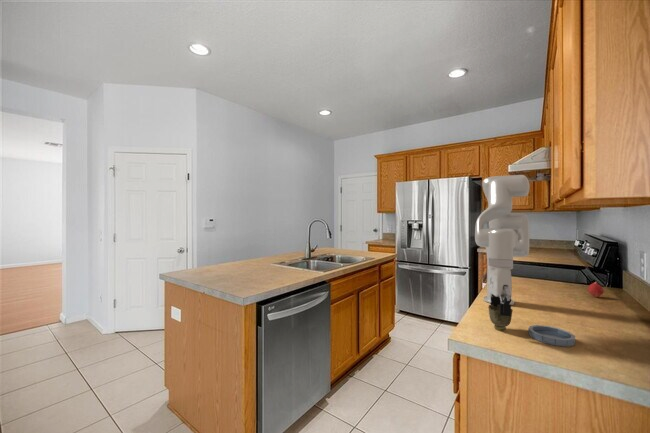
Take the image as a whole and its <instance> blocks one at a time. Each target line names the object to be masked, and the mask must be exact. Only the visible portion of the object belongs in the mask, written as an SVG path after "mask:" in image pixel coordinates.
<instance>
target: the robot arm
mask: <svg viewBox="0 0 650 433" xmlns="http://www.w3.org/2000/svg"><path fill="white" fill-rule="evenodd" d="M529 181H530V180H529V179H528V177H527V176H526V175H524V174H514V175H513V174H512V175H509V174H508V175H497V176H495V175H494V176H489V177H486V178H484V179H483V180H482V184H481V185H482V190H483V192H484V195H485V198H486V199H487V200H486V201H487V206H488V207H487V208H485V210H483V211H482V212H481V213H480V214H479V216H478V217H477V219H476V222H475V225H474V227H475V228H474V241H475V243H476V246H478V247H480V248H485V251H486V259H487V260H486V262H487V263H486V265H487V266H486V268H487V271H486V273H487V274H486V284H487V285H486V295H485V296H483V301H484V302H486V303H488V304H490V305H491V306H492V304H493V305H494V307H495V306H496V307H497V305H500V315H501V316H511V309H512V306H514V305H515V301H514V300H513V299H512V293H513V290H512V289H513V287H512V286H513V282H512V273H511V272H512V271H511V270H513V269H514V258H525V257H528V255H529V253H530V221H529V217H528V216H527V214H525V213H521V212H518V213H517V212H513V198H519V197H520V198H521V197H527V196H528V195H529V193H530V188H531V186H530V182H529ZM487 223H488V227H484V226H485V225H486V224H487Z"/></svg>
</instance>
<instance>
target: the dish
mask: <svg viewBox="0 0 650 433" xmlns="http://www.w3.org/2000/svg"><path fill="white" fill-rule="evenodd" d="M528 335H529V337H530V338H532V339H534V340H536V341H538V342H541V343H544V344H546V345H552V346H556V347H566V348H567V347H574V346H575V345H576V335H574V334H573V333H571V332H570V331H567V330H564V329H561V328H558V327H554V326H549V325H542V324H541V325H540V324H535V325H534V324H533V325H529V327H528Z"/></svg>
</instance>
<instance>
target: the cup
mask: <svg viewBox="0 0 650 433" xmlns="http://www.w3.org/2000/svg"><path fill="white" fill-rule="evenodd" d="M487 307H488V314H489V319H490V322H491V323H492V324H493V327H494V328H495V330H497V331H500V332H501V331H502V332H505V331H506V330H507V327H508V326H509V325H510V324H511V322H512V316H513V308H511V316H501V315H500V305H497V307H496V306H495V307H494V305H493V304H492V306H491V304H488V306H487Z"/></svg>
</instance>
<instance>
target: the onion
mask: <svg viewBox="0 0 650 433" xmlns="http://www.w3.org/2000/svg"><path fill="white" fill-rule="evenodd" d="M587 292H588V293H589V294H590V295H591V296H593V297H594V298H599V297H600V296H602V295H603V294H604V293H605V292H604V288H603V287H602V285H600V284H599V283H598V282H597V281H595V282H593V283H591V284H589V286H588V287H587Z"/></svg>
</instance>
